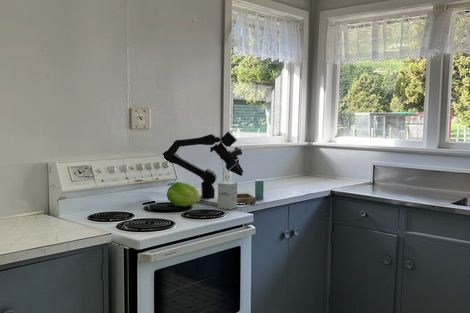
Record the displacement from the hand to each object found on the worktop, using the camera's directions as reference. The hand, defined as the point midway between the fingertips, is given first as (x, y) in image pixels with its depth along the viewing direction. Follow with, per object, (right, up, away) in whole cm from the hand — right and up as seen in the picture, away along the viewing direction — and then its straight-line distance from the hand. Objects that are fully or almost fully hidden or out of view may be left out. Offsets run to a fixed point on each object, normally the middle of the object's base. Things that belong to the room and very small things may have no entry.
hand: (242, 173), depth 255 cm
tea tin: (+9, -13, +1) cm, 16 cm away
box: (-1, -14, -9) cm, 17 cm away
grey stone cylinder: (-8, -16, -23) cm, 29 cm away
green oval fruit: (-29, -16, -23) cm, 40 cm away
